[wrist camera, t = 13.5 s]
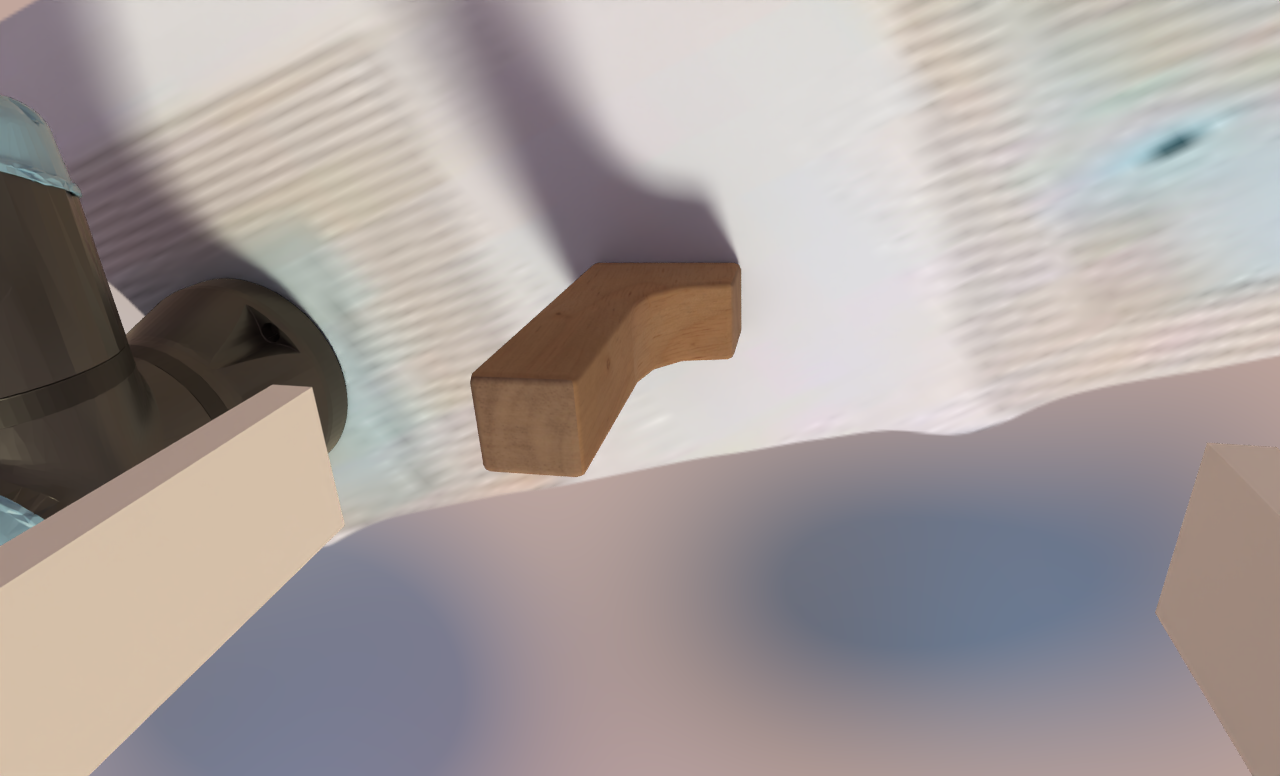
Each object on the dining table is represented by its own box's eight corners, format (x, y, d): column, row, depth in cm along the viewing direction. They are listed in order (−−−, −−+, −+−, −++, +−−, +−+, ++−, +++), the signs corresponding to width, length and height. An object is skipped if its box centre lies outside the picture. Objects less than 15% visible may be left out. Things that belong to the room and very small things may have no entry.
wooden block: (741, 261, 43) (692, 382, 27) (741, 334, 45) (695, 489, 29) (593, 261, 45) (464, 374, 29) (599, 331, 47) (480, 474, 31)
